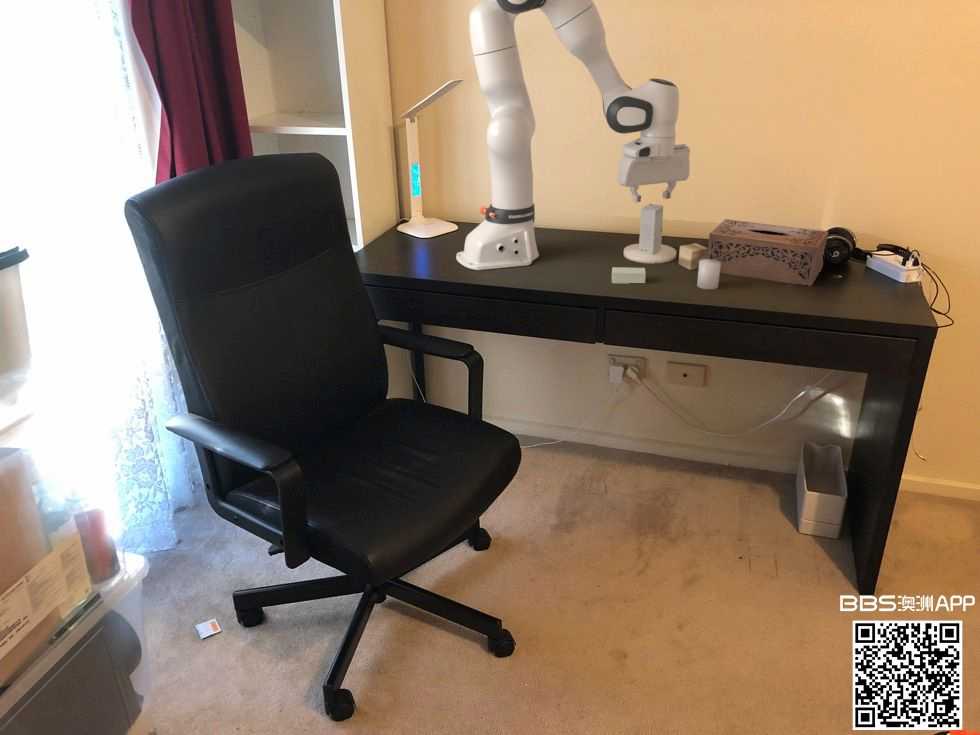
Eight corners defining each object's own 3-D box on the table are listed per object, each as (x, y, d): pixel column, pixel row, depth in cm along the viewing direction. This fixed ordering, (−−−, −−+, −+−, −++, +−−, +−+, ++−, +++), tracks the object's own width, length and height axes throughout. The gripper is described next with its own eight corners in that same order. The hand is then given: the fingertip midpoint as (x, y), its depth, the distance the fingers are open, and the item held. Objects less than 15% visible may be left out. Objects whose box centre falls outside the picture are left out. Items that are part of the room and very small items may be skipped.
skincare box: (653, 255, 213) (656, 210, 208) (637, 252, 215) (640, 208, 210) (661, 249, 218) (665, 205, 212) (646, 246, 220) (649, 203, 214)
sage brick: (612, 284, 198) (612, 272, 197) (611, 278, 202) (612, 267, 201) (644, 284, 198) (645, 273, 196) (643, 279, 201) (644, 267, 200)
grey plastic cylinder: (705, 290, 192) (708, 267, 190) (692, 284, 196) (695, 261, 194) (722, 287, 194) (725, 263, 191) (709, 281, 198) (711, 257, 196)
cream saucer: (642, 266, 209) (642, 262, 208) (613, 251, 220) (613, 247, 220) (686, 258, 214) (687, 254, 213) (656, 244, 225) (656, 240, 225)
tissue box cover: (821, 269, 205) (828, 231, 200) (810, 287, 194) (817, 247, 189) (721, 255, 217) (725, 219, 212) (705, 271, 205) (709, 233, 201)
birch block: (690, 270, 206) (691, 251, 204) (678, 264, 210) (679, 246, 208) (705, 267, 208) (707, 248, 206) (694, 261, 212) (695, 243, 210)
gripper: (682, 141, 211) (677, 193, 217) (616, 147, 203) (612, 201, 209) (697, 145, 205) (691, 199, 212) (630, 151, 198) (625, 207, 204)
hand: (651, 200), depth 210 cm, fingers open, 8 cm apart
